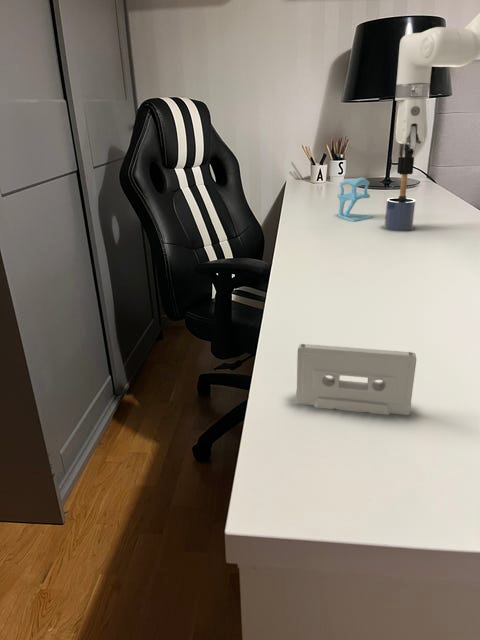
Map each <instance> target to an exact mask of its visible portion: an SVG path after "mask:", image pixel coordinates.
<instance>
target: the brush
mask: <svg viewBox="0 0 480 640" xmlns="http://www.w3.org/2000/svg"><path fill="white" fill-rule="evenodd" d="M408 175H409V174H402V175H401V178H400V187H399V188H400V189H399V195H398V198H399V201H398V202H406V198H407V195H406V194H407V184H408Z"/></svg>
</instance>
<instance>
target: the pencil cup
mask: <svg viewBox="0 0 480 640" xmlns="http://www.w3.org/2000/svg"><path fill="white" fill-rule="evenodd" d="M398 201H399V197H390V198H387V199H386V203H385V214H384V226H383V228H384V229H385V230H387V231H391V232H392V231H393V232H409V231H412V230H413V228H414V219H415V210H416V199H414V198H409V197H406V202H398Z"/></svg>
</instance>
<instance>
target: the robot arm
mask: <svg viewBox="0 0 480 640" xmlns="http://www.w3.org/2000/svg"><path fill="white" fill-rule="evenodd" d="M398 49H399V50H398V62H397V73H396V74H397V75H396V85H395V98H394V101H398V108H397V116H396V125H395V126H396V127H395V141H396V143H398V144H399V145H398V146H399V147H398V159H397V170H396V173H397V174H399V175H400V176H402V174H408V175H412V174H414V163H415V153H416V147H417V144H418V145H422V144H423V143H424V142H425V133H426V132H425V131H426V130H425V129H426V115H427V102H426V101H427V100H429V98H430V87H431V76H432V67H434V68H435V67H436V68H437V67H439V68H443V67H444V68H445V67H446V68H448V67H452V68H461V67H465V66H467V65H469V64H470V63H473V61H475V60H476V59H478V57H479V56H480V12H479V13H478V14H477V15H476V16H475V17H474V18H473V19H472V20H471V21H470V22H469V23H468V24H467V25H466V26H465V27H464V28H463V27H452V26H451V27H450V26H449V27H446V26H435V27H432V28H429V29H427V30H424V31H422V32H413V33H409V34H405V35H403V36H402V37H401V38H400V41H399V48H398Z"/></svg>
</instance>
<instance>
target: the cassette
mask: <svg viewBox="0 0 480 640" xmlns="http://www.w3.org/2000/svg"><path fill="white" fill-rule="evenodd" d="M296 356H297V357H296V359H297V360H296V363H297V364H296V391H295V404H297V405H307V406H314V408H318V409H326V410H334V409H336V410H339V411H346V412H357V413H369V414H375V415H376V414H379V415H385V416H387V415H388V416H389V415H390V414H393V415H402V416H403V415H404V416H410V414H411V407H412V398H413V390H414V382H415V374H416V367H417V356H416V353H415V352H413V351H402V350H401V351H399V350H388V349H376V348H375V349H374V348H364V347H363V348H361V347H349V346H337V345H324V344H323V345H321V344H311V343H309V344H308V343H299V345H298V346H297V355H296ZM327 376H330V377H327ZM341 376H345V377H355V378H367V382H364V381H352V380H341ZM377 381H379V382H377ZM380 381H381V382H380Z"/></svg>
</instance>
